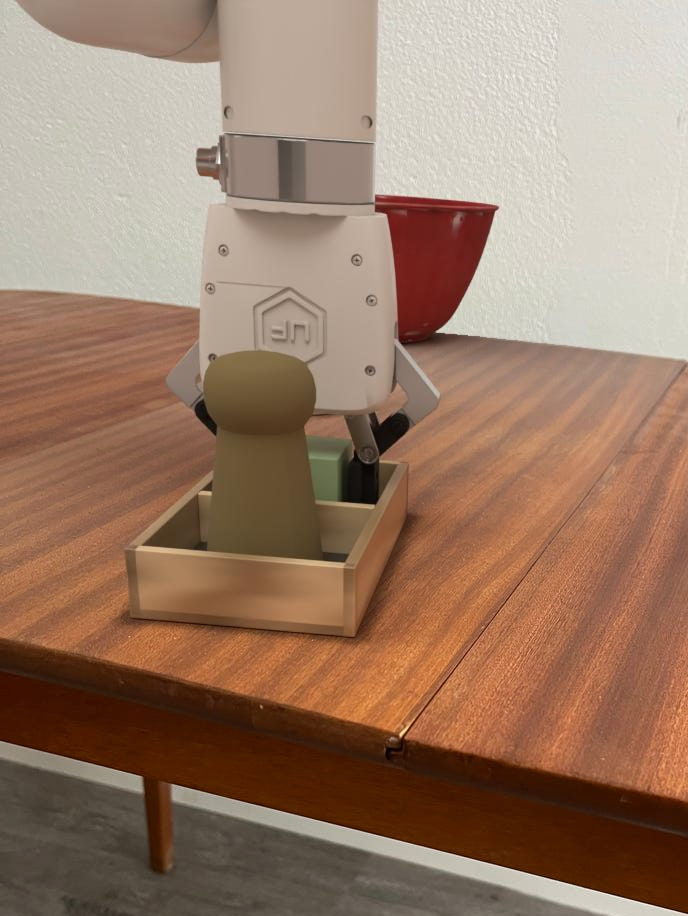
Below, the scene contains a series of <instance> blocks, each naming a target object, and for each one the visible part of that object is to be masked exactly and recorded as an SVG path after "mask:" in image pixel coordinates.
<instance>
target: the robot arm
mask: <svg viewBox="0 0 688 916" xmlns="http://www.w3.org/2000/svg"><path fill="white" fill-rule="evenodd" d="M14 1H15V2H16V4H18V6H19V7H20V9H22V11H24V12H25V13H26V14H27V15H28V16H29V17H30V18H32V19H33V20H34V22H36V23H38V25H40V26H41V27H42V28H44V29H46V30H47V31H49V32H51V33H53V34H54V35H56V36H58V37H60V38H62V39H64V40H66V41H68V42H69V41H70V42H73V43H77V44H80V45H84V46H85V45H86V46H90V47H95V48H101V49H107V50H108V49H109V50H113V51H122V52H127V53H132V54H137V55H141V56H144V57H147V58H151V59H159V60H164V61H170V62H176V63H182V64H208V63H209V64H210V63H217V62H219V77H220V100H221V101H220V102H221V122H222V123H221V124H222V125H221V126H222V133H223V132H224V133H223V134H222V135H221V134H219V135H218V141H219V142H217V145H212V146H211V148H210V147H198V148H197V149H196V153H195V169H196V172H197V175H198V176H199V177H208V178H212V179H213V180H214V181H218V182H219V185H220V190H221V193H225V202H219V203H210V204H209V206H208V210H207V215H206V222H205V230H204V239H203V247H202V259H201V275H200V294H199V295H200V297H199V299H200V300H199V322H198V323H199V328H198V330H199V331H198V332H199V333H198V334H199V335H198V336H199V337H198V339H197V340H196V342H195V343H194V344H193V345H192V346H191V347H190V349H189V350H188V351H187V352H186V353H185V355H183V357H182V358H181V359H180V360H179V362H178V363H177V364H176V365H175V366H174V367H173V368H172V370H171V371H170V372H169V373H168V374H167V376H166V377H165V381H164V382H165V386H166V387H167V389H168V390H169V391H170V392H172V393H173V395H175V397H177V398H178V399H179V400H180V401H181V402H182V403H183V404H184V405H185V406H186V407H187V408H189V409H191V410H192V411H193V412H194V415H195V416H196V418H197V419H198V420H199V421H200V422H201V423H202V424H203V426H205V428H206V429H208V430H209V431H210V433H212V435H214V437H216V435H217V424H216V423H215V422H214V420H213V419H212V418H211V416H210V415H209V414H208V411H207V408H206V405H205V402H204V392H203V381H204V376H205V371H206V370H207V368H208V366H209V364H210V363H211V361H213V360H215V359H216V358H218V357H219V356H221V355H225V354H229V353H234V352H239V351H252V350H261V351H272V352H278V353H282V354H286V355H290V356H294V357H296V358H298V359H300V360H302V361H303V362H305V363H306V365H307V366H308V368H309V370H310V371H311V373H312V375H313V378H314V382H315V386H316V403H315V407H314V411H313V413H322V414H321V415H338V416H339V415H340V416H343V417H344V418H343V419H344V420H345V423H346V426H347V429H348V432H349V435H350V439H352V445H353V447H354V450H353V456H352V458H353V459H352V460H351V461H350V463H349V464H348V489H347V503H358V504H370V505H375V506H376V504H377V502H378V501H379V460H380V457H381V456H382V455H384V454H385V453H386V452H387V451H388V450H389V449H391V447H392V446H394V445H395V444H396V443H397V442H398V441H400V440H401V439H402V438H403V437H404V436H405V435H406V434H407V433H408V432H410V430H411V429H413V428H414V427H415V426H417V425H418V424H419V423H421V422H422V421H424V419H426V418H427V417H428V416H430V415H431V414H433V412H434V411H436V410H437V409H438V407H439V405H440V403H441V401H442V396H441V393H440V391H439V390H438V389H437V388H436V386H435V385H434V384H433V382H432V381H431V380H430V378H429V377H428V376H427V375H426V373H425V372H424V371H423V370H422V368H420V366H419V365H418V363H417V362H416V361H415V360H414V359H413V357H412V355H410V353H409V352H408V351H407V349H405V347H404V346H403V345H402V344H401V343H400V342H399V341H398V317H397V296H396V280H395V268H394V258H393V250H392V243H391V236H390V229H389V224H388V219H387V215H386V214H383V213H377V212H375V203H374V202H375V194H376V161H377V159H376V158H377V157H376V156H377V155H376V153H377V152H376V151H377V148H376V147H377V145H376V142H377V104H378V103H377V101H378V100H377V98H378V43H379V42H378V38H379V35H378V34H379V33H378V32H379V0H14ZM397 384H398V385H399V386H400V388H401V389H402V391H404V393H405V394H406V396H407V397H406V398H407V401H405V402H404V404H402V405H401V406H399V407H398V408H397V409H396V410H394V411H393V412H391V414H390V415H388V416H387V417H386V418H385V419H383V421H382V422H381V419H380V416H379V413H378V411H379V410H380V409H382V408H383V407H384V406H385V404H386V403H387V402H388V401H389V399H390V396H391V394H393V393H394V391H395V390H396V387H397Z"/></svg>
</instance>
